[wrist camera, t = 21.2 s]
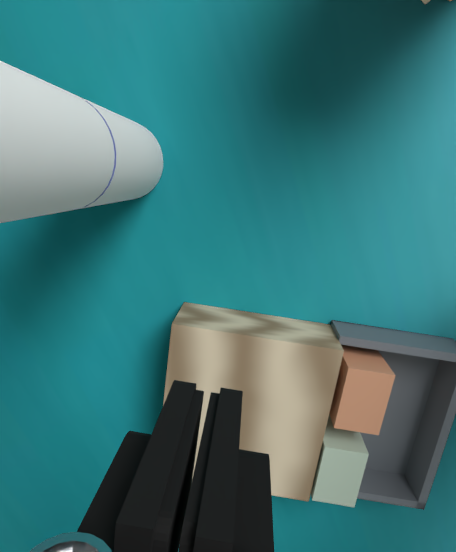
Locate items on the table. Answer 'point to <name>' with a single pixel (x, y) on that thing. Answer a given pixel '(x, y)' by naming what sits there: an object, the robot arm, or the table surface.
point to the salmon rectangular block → (361, 391)
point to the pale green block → (339, 467)
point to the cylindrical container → (67, 151)
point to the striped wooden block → (263, 382)
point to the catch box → (407, 412)
